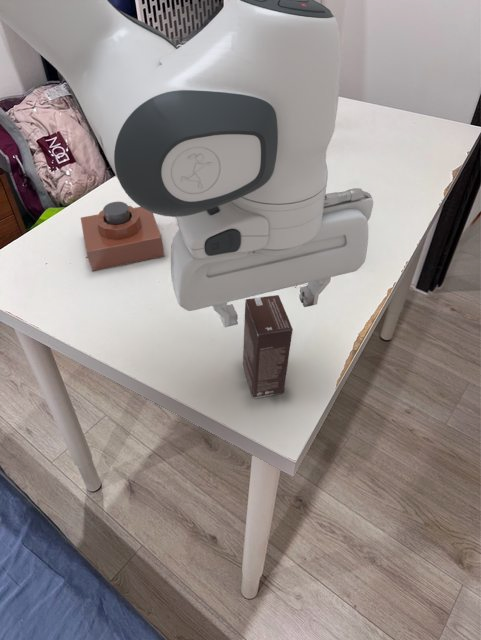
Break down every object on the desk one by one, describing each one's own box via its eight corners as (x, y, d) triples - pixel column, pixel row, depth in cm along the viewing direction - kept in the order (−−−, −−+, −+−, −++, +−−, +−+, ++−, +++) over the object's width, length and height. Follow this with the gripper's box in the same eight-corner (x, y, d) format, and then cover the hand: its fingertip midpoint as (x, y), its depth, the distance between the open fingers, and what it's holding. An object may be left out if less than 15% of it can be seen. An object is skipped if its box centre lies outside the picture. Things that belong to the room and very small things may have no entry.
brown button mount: (92, 271, 76) (83, 241, 71) (86, 236, 82) (77, 207, 78) (164, 256, 78) (160, 226, 74) (153, 223, 85) (148, 194, 81)
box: (286, 393, 59) (294, 329, 51) (252, 399, 59) (254, 336, 50) (274, 357, 63) (279, 292, 55) (241, 362, 63) (241, 298, 54)
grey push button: (107, 228, 75) (104, 217, 73) (104, 214, 77) (101, 203, 76) (132, 223, 75) (130, 212, 74) (128, 210, 78) (126, 199, 77)
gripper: (360, 169, 46) (340, 274, 56) (157, 207, 42) (175, 314, 52) (394, 202, 42) (365, 309, 52) (173, 248, 38) (188, 355, 48)
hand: (269, 312), depth 52 cm, fingers open, 8 cm apart
